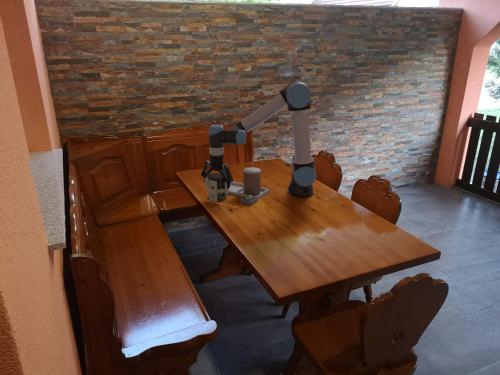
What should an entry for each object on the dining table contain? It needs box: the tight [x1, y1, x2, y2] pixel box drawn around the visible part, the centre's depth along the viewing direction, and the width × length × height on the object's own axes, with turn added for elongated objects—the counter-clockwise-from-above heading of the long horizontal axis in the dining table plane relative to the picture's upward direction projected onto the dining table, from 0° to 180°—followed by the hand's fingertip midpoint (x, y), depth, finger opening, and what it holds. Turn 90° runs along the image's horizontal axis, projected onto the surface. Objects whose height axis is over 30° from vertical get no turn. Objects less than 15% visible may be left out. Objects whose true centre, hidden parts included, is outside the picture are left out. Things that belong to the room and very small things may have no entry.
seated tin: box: [242, 166, 262, 196], centre depth 211 cm, size 10×10×14 cm
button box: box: [239, 197, 259, 206], centre depth 202 cm, size 7×7×3 cm
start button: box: [245, 195, 253, 201], centre depth 201 cm, size 4×4×3 cm
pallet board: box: [227, 181, 270, 200], centre depth 217 cm, size 29×15×2 cm, turn 60°
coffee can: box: [207, 172, 228, 204], centre depth 205 cm, size 10×10×14 cm
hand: (217, 190), depth 206 cm, fingers open, 13 cm apart
